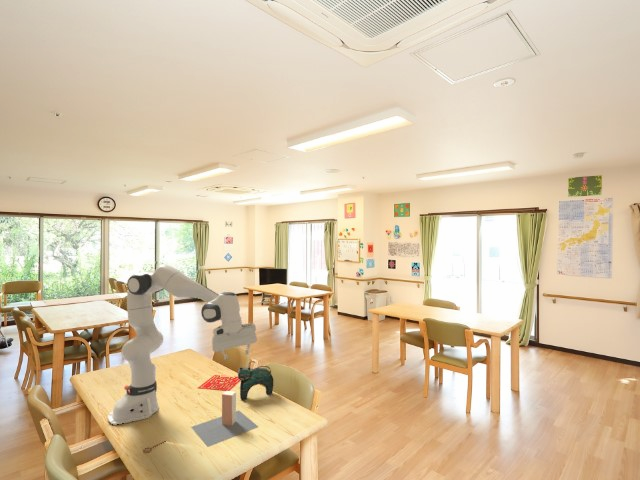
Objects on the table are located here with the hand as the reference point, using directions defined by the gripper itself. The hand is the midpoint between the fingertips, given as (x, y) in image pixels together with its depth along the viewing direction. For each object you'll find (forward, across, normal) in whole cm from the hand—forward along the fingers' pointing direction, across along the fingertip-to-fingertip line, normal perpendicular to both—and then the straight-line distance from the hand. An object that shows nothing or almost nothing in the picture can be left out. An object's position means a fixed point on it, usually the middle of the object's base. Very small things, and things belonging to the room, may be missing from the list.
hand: (236, 356), depth 157 cm
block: (+31, +8, -7) cm, 33 cm away
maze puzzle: (+28, +8, -58) cm, 65 cm away
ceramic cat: (+32, -9, -32) cm, 46 cm away
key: (+29, +36, -2) cm, 46 cm away
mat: (+32, +10, -4) cm, 33 cm away
